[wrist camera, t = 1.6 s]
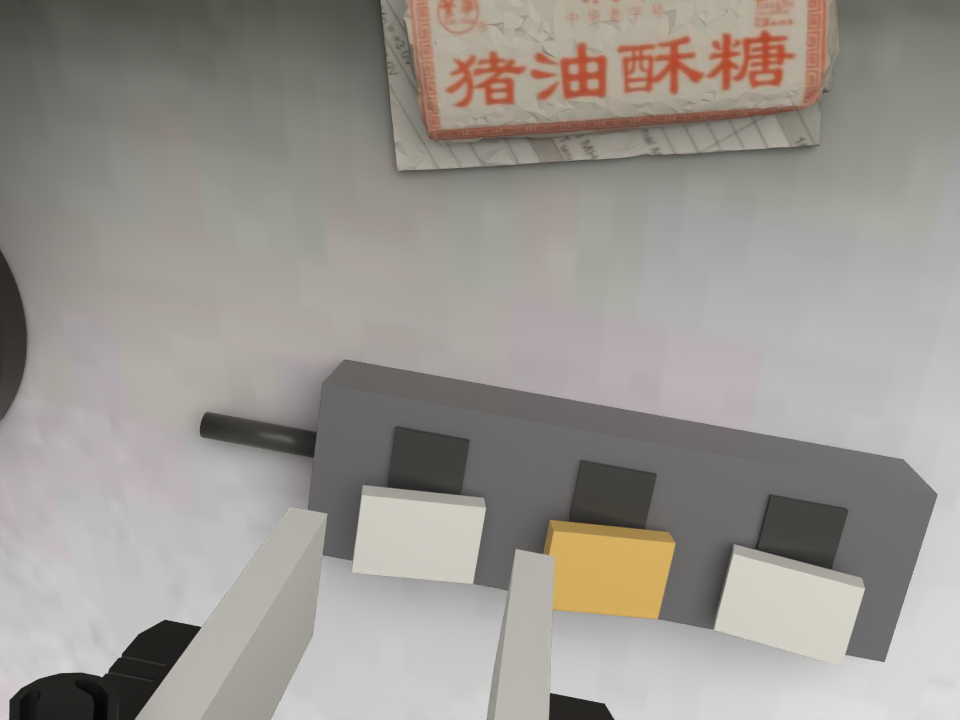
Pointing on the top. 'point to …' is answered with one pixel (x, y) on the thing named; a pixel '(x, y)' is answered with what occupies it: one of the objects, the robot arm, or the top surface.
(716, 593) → the power strip
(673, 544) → the yellow box
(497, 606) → the top surface
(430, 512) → the white box
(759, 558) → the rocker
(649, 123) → the packaged product
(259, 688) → the robot arm
